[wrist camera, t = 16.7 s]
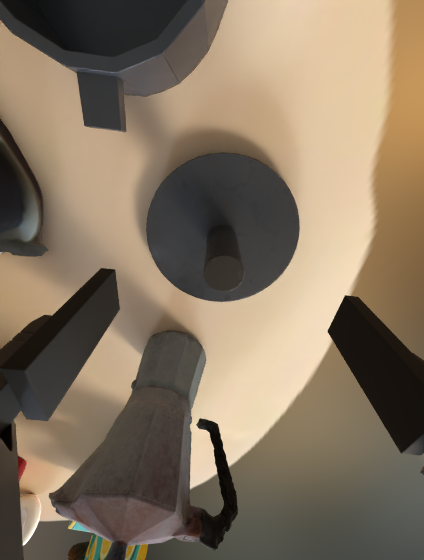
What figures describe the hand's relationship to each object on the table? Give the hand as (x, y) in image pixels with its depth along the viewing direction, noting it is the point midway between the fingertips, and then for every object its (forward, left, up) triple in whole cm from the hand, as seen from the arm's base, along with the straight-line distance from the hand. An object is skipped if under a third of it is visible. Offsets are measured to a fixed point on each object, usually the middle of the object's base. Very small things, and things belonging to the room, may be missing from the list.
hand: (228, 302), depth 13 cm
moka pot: (-4, -18, -12) cm, 22 cm away
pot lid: (0, 0, -12) cm, 12 cm away
